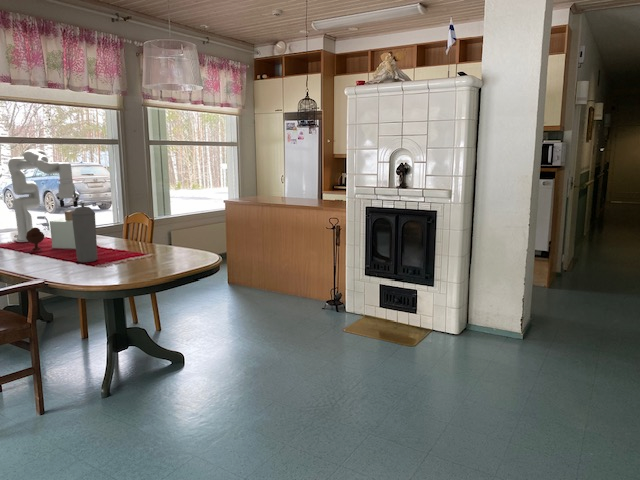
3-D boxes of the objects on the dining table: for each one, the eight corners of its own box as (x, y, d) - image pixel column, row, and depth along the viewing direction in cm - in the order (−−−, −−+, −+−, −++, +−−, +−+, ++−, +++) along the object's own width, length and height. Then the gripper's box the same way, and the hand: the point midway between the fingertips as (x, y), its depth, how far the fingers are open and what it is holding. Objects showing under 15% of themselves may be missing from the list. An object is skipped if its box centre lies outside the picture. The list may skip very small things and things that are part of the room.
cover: (52, 247, 323) (48, 212, 318) (68, 242, 339) (65, 209, 335) (76, 248, 320) (72, 213, 316) (91, 243, 337) (88, 209, 333)
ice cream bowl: (49, 248, 323) (47, 226, 321) (38, 251, 312) (36, 228, 310) (34, 247, 324) (32, 225, 322) (23, 251, 314) (20, 228, 311)
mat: (49, 248, 322) (49, 248, 321) (68, 242, 341) (68, 242, 341) (76, 249, 319) (76, 249, 319) (94, 243, 338) (94, 243, 338)
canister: (75, 264, 280) (70, 204, 273) (75, 259, 291) (70, 202, 284) (99, 261, 286) (94, 203, 279) (98, 257, 297) (93, 201, 290)
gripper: (50, 181, 319) (53, 207, 322) (74, 181, 317) (77, 207, 320) (58, 181, 326) (61, 206, 329) (81, 180, 324) (84, 206, 327)
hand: (69, 206), depth 325 cm, fingers open, 9 cm apart
